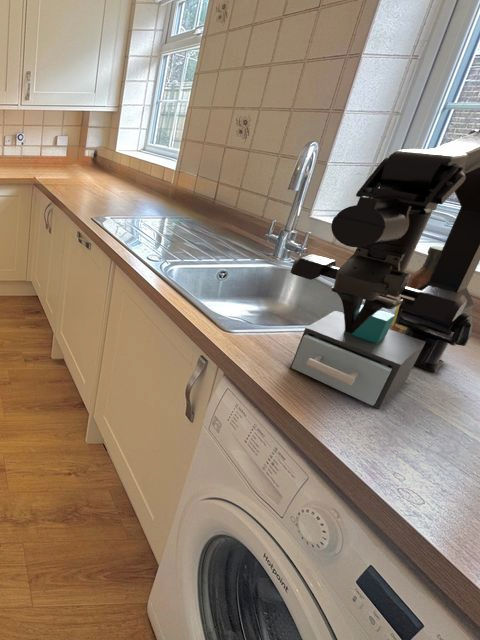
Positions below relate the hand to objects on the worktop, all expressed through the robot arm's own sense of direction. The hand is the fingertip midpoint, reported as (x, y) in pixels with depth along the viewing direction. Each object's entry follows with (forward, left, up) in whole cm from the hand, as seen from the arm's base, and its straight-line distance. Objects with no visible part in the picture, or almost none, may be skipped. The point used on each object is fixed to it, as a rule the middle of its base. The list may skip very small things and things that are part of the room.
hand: (349, 332), depth 65 cm
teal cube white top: (-10, 0, -3) cm, 11 cm away
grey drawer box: (-10, 0, -12) cm, 16 cm away
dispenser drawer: (-6, 0, -11) cm, 13 cm away
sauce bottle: (-41, +1, -12) cm, 43 cm away
